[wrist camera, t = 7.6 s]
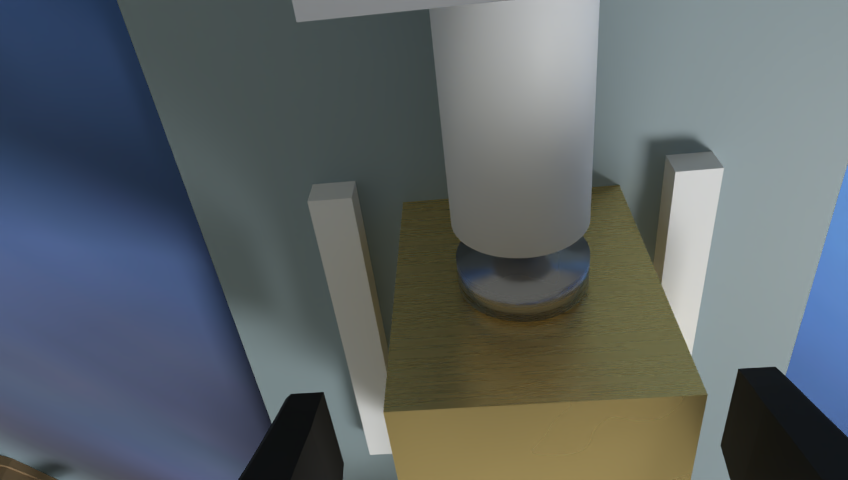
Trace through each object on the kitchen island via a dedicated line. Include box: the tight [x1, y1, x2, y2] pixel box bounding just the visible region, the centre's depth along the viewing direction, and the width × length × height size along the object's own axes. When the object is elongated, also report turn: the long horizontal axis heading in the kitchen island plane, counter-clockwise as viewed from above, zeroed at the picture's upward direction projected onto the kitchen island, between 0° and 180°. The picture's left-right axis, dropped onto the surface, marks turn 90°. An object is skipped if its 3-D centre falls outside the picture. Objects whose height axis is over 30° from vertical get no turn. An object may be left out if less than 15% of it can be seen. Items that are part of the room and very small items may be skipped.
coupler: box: [383, 185, 708, 480], centre depth 12 cm, size 4×7×5 cm, turn 6°
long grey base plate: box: [117, 0, 848, 480], centre depth 13 cm, size 12×24×6 cm, turn 6°
